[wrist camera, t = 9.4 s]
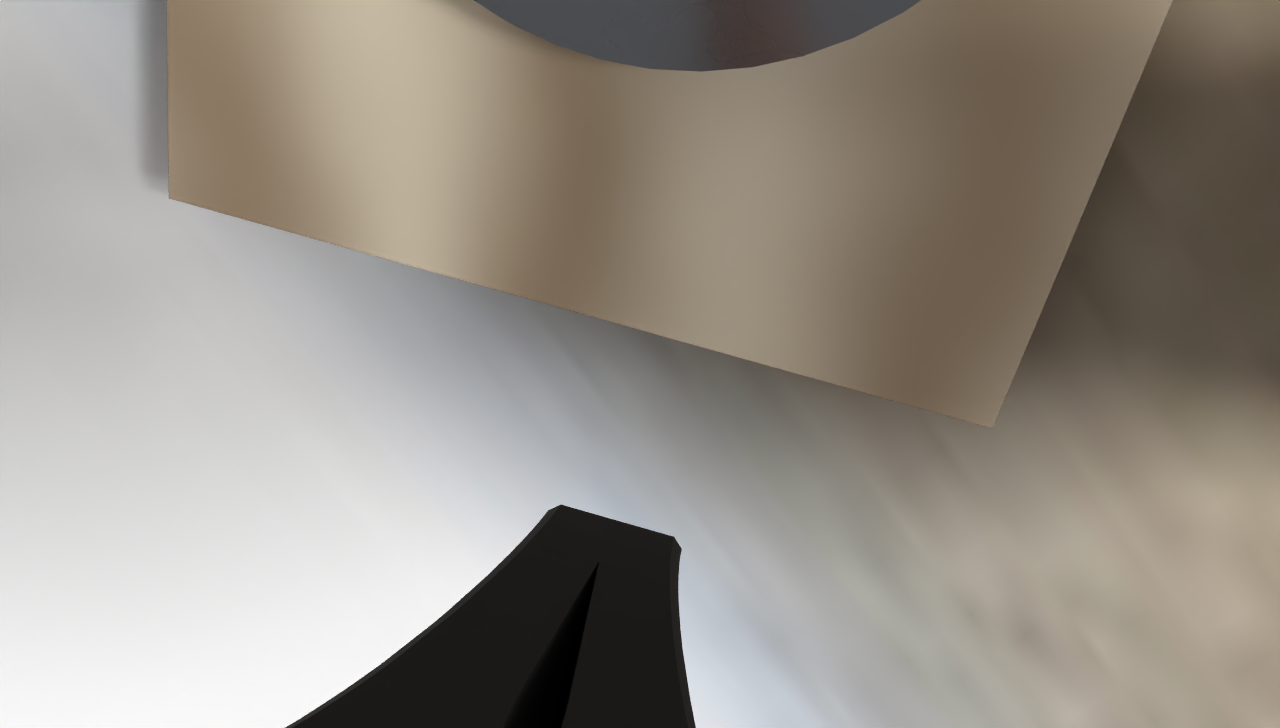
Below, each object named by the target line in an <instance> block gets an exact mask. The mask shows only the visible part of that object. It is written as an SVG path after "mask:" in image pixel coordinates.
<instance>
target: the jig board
mask: <svg viewBox="0 0 1280 728" xmlns="http://www.w3.org/2000/svg"><path fill="white" fill-rule="evenodd" d="M1172 1H1173V0H921V1H920V2H918V3H917V4H915V5H914V6H912V7H911V8H909V9H908V10H906V11H905V12H903V13H901V14H899V15H898V16H896V17H894V18H892V19H890V20H888V21H886V22H884V23H882V24H880V25H878V26H876V27H874V28H872V29H870V30H868V31H866V32H864V33H862V34H860V35H858V36H857V37H855V38H852V39H849V40H847V41H844V42H841V43H838V44H835V45H833V46H830V47H827V48H824V49H822V50H819V51H816V52H813V53H811V54H808V55H805V56H802V57H797V58H792V59H788V60H783V61H779V62H774V63H770V64H765V65H761V66H756V67H750V68H738V69H727V70H715V71H703V72H699V71H679V70H658V69H648V68H642V67H637V66H631V65H626V64H621V63H615V62H610V61H604V60H600V59H597V58H594V57H591V56H588V55H585V54H582V53H579V52H576V51H573V50H569V49H566V48H563V47H560V46H557V45H554V44H552V43H550V42H548V41H546V40H544V39H542V38H539V37H537V36H535V35H533V34H531V33H529V32H527V31H525V30H523V29H520V28H518V27H516V26H514V25H512V24H510V23H508V22H507V21H505V20H503V19H502V18H500V17H499V16H497V15H496V14H494V13H492V12H491V11H489V10H488V9H486V8H485V7H483V6H482V5H480V4H478V3H477V2H475V1H474V0H167V71H168V164H169V198H170V199H173V200H177V201H181V202H184V203H188V204H191V205H195V206H199V207H202V208H206V209H209V210H213V211H216V212H220V213H224V214H227V215H231V216H234V217H238V218H241V219H245V220H249V221H252V222H256V223H259V224H263V225H266V226H270V227H274V228H277V229H281V230H284V231H288V232H291V233H295V234H299V235H302V236H306V237H309V238H313V239H317V240H320V241H324V242H327V243H331V244H334V245H338V246H342V247H345V248H349V249H352V250H356V251H359V252H363V253H367V254H370V255H374V256H377V257H381V258H384V259H388V260H392V261H395V262H399V263H402V264H406V265H410V266H413V267H417V268H420V269H424V270H427V271H431V272H435V273H438V274H442V275H445V276H449V277H452V278H456V279H460V280H463V281H467V282H470V283H474V284H477V285H481V286H485V287H488V288H492V289H495V290H499V291H502V292H506V293H510V294H513V295H517V296H520V297H524V298H528V299H531V300H535V301H538V302H542V303H545V304H549V305H553V306H556V307H560V308H563V309H567V310H570V311H574V312H578V313H581V314H585V315H588V316H592V317H595V318H599V319H603V320H606V321H610V322H613V323H617V324H621V325H624V326H628V327H631V328H635V329H638V330H642V331H646V332H649V333H653V334H656V335H660V336H663V337H667V338H671V339H674V340H678V341H681V342H685V343H688V344H692V345H696V346H699V347H703V348H706V349H710V350H713V351H717V352H721V353H724V354H728V355H731V356H735V357H739V358H742V359H746V360H749V361H753V362H756V363H760V364H764V365H767V366H771V367H774V368H778V369H781V370H785V371H789V372H792V373H796V374H799V375H803V376H806V377H810V378H814V379H817V380H821V381H824V382H828V383H831V384H835V385H839V386H842V387H846V388H849V389H853V390H857V391H860V392H864V393H867V394H871V395H874V396H878V397H882V398H885V399H889V400H892V401H896V402H899V403H903V404H907V405H910V406H914V407H917V408H921V409H924V410H928V411H932V412H935V413H939V414H942V415H946V416H950V417H953V418H957V419H960V420H964V421H967V422H971V423H975V424H978V425H982V426H985V427H989V428H993V426H994V423H995V421H996V419H997V416H998V414H999V411H1000V409H1001V407H1002V404H1003V402H1004V400H1005V397H1006V395H1007V392H1008V390H1009V388H1010V385H1011V383H1012V381H1013V378H1014V376H1015V373H1016V371H1017V369H1018V366H1019V364H1020V362H1021V359H1022V357H1023V354H1024V352H1025V350H1026V347H1027V345H1028V343H1029V340H1030V338H1031V336H1032V333H1033V331H1034V328H1035V326H1036V324H1037V321H1038V319H1039V317H1040V314H1041V312H1042V309H1043V307H1044V305H1045V302H1046V300H1047V298H1048V295H1049V293H1050V290H1051V288H1052V286H1053V283H1054V281H1055V279H1056V276H1057V274H1058V271H1059V269H1060V267H1061V264H1062V262H1063V260H1064V257H1065V255H1066V253H1067V250H1068V248H1069V245H1070V243H1071V241H1072V238H1073V236H1074V234H1075V231H1076V229H1077V226H1078V224H1079V222H1080V219H1081V217H1082V215H1083V212H1084V210H1085V207H1086V205H1087V203H1088V200H1089V198H1090V196H1091V193H1092V191H1093V188H1094V186H1095V184H1096V181H1097V179H1098V177H1099V174H1100V172H1101V170H1102V167H1103V165H1104V162H1105V160H1106V158H1107V155H1108V153H1109V151H1110V148H1111V146H1112V143H1113V141H1114V139H1115V136H1116V134H1117V132H1118V129H1119V127H1120V124H1121V122H1122V120H1123V117H1124V115H1125V113H1126V110H1127V108H1128V105H1129V103H1130V101H1131V98H1132V96H1133V94H1134V91H1135V89H1136V86H1137V84H1138V82H1139V79H1140V77H1141V75H1142V72H1143V70H1144V68H1145V65H1146V63H1147V60H1148V58H1149V56H1150V53H1151V51H1152V49H1153V46H1154V44H1155V41H1156V39H1157V37H1158V34H1159V32H1160V30H1161V27H1162V25H1163V22H1164V20H1165V18H1166V15H1167V13H1168V11H1169V8H1170V6H1171V3H1172Z"/></svg>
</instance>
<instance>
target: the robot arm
mask: <svg viewBox="0 0 1280 728" xmlns="http://www.w3.org/2000/svg"><path fill="white" fill-rule="evenodd" d="M681 550H682V549H681V547H680V546H679V544H678V542H677V541H676V539H675V538H674V537H672V536H669V535H665V534H662V533H658V532H655V531H651V530H648V529H644V528H641V527H637V526H634V525H630V524H627V523H623V522H620V521H616V520H613V519H609V518H606V517H602V516H599V515H595V514H592V513H588V512H585V511H581V510H578V509H574V508H571V507H567V506H564V505H559V506H557V507H555V508H553V509H550V510H548V512H547V513H546V514H545V515H544V517H543V518H542V519H541V520H540V522H539V523H538V524H537V525H536V526H535V527H534V528H533V530H532V531H531V532H530V533H529V534H528V535H527V536H526V537H525V538H524V539H523V541H522V542H521V543H520V544H519V545H518V546H517V547H516V548H515V549H514V550H513V551H512V552H511V553H510V554H509V555H508V556H507V557H506V558H505V559H504V560H503V561H502V562H501V563H500V564H499V565H498V566H497V567H496V568H495V569H494V570H493V571H492V572H491V573H490V574H489V575H488V576H486V577H485V578H484V579H483V580H482V581H481V582H480V583H479V584H478V585H476V586H475V587H474V588H473V589H472V590H471V591H470V592H469V593H467V594H466V595H465V596H464V597H463V598H462V599H461V600H460V601H459V602H457V603H456V604H455V605H454V606H453V607H452V608H451V609H450V610H448V611H447V612H446V613H445V614H444V615H443V616H441V617H440V618H439V619H438V620H437V621H435V622H434V623H433V624H432V625H431V626H429V627H428V628H427V629H425V630H424V631H423V632H422V633H420V634H419V635H418V636H416V637H415V638H414V639H413V640H411V641H410V642H409V643H408V644H406V645H405V646H404V647H402V648H401V649H400V650H399V651H397V652H396V653H395V654H393V655H392V656H391V657H390V658H388V659H387V660H386V661H385V662H383V663H382V664H381V665H379V666H378V667H376V668H375V669H374V670H372V671H371V672H369V673H368V674H367V675H365V676H364V677H362V678H361V679H360V680H358V681H357V682H355V683H354V684H353V685H351V686H350V687H348V688H347V689H345V690H344V691H342V692H341V693H339V694H338V695H336V696H335V697H333V698H332V699H330V700H329V701H327V702H326V703H324V704H322V705H321V706H319V707H318V708H316V709H315V710H313V711H312V712H310V713H309V714H307V715H305V716H304V717H302V718H301V719H299V720H297V721H296V722H294V723H292V724H291V725H289V726H287V727H285V728H696V727H695V722H694V717H693V712H692V706H691V701H690V695H689V689H688V682H687V676H686V669H685V663H684V656H683V649H682V640H681V631H680V617H679V601H678V574H679V561H680V555H681Z"/></svg>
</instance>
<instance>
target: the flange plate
mask: <svg viewBox="0 0 1280 728" xmlns="http://www.w3.org/2000/svg"><path fill="white" fill-rule="evenodd" d="M474 1H475V2H477V3H478V4H480V5H482V6H483V7H485V8H486V9H488V10H489V11H491V12H492V13H494V14H496V15H497V16H499V17H500V18H502V19H503V20H505V21H507V22H508V23H510V24H512V25H514V26H516V27H518V28H520V29H523V30H525V31H527V32H529V33H531V34H533V35H535V36H537V37H539V38H542V39H544V40H546V41H548V42H550V43H552V44H554V45H557V46H560V47H563V48H566V49H569V50H573V51H576V52H579V53H582V54H585V55H588V56H591V57H594V58H597V59H600V60H604V61H610V62H615V63H621V64H626V65H631V66H637V67H642V68H648V69H658V70H679V71H699V72H703V71H715V70H727V69H738V68H750V67H756V66H761V65H765V64H770V63H774V62H779V61H783V60H788V59H792V58H797V57H802V56H805V55H808V54H811V53H813V52H816V51H819V50H822V49H824V48H827V47H830V46H833V45H835V44H838V43H841V42H844V41H847V40H849V39H852V38H855V37H857V36H858V35H860V34H862V33H864V32H866V31H868V30H870V29H872V28H874V27H876V26H878V25H880V24H882V23H884V22H886V21H888V20H890V19H892V18H894V17H896V16H898V15H899V14H901V13H903V12H905V11H906V10H908V9H909V8H911V7H912V6H914V5H915V4H917V3H918V2H920V1H921V0H474Z"/></svg>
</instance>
